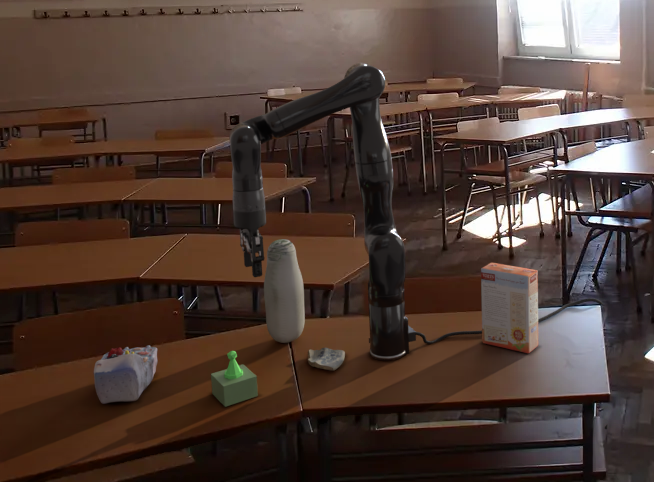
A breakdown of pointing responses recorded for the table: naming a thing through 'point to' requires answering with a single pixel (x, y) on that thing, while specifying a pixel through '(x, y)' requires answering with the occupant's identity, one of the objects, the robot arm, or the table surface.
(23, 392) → the table surface
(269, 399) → the table surface
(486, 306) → the cracker box
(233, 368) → the game piece
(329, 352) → the ceramic fragment
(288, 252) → the white bottle
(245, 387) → the green block
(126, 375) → the cell model
